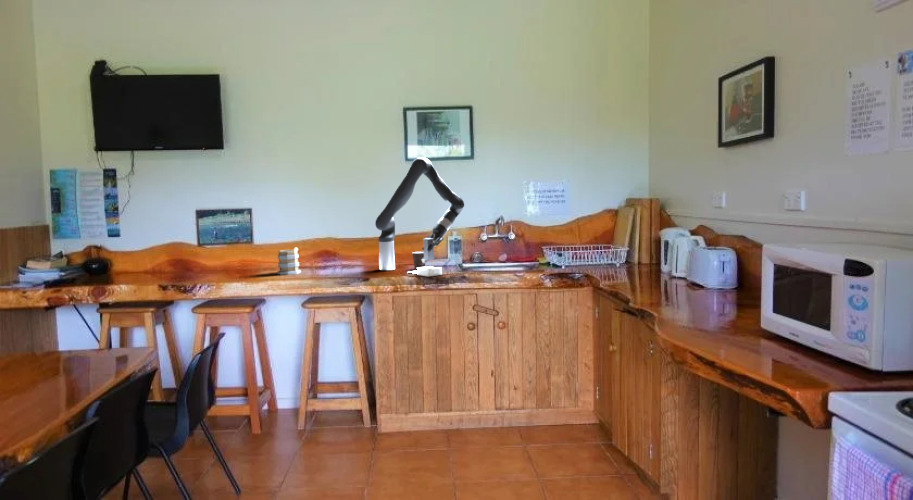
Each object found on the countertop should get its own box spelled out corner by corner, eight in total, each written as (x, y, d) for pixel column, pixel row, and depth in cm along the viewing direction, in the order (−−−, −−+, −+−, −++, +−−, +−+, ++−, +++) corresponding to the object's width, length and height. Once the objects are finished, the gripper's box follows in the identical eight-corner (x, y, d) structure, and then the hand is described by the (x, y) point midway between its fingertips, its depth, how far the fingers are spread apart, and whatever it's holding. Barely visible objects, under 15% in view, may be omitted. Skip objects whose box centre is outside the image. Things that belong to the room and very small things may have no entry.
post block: (407, 273, 334) (407, 266, 333) (421, 271, 340) (420, 265, 339) (428, 276, 318) (428, 269, 318) (442, 274, 324) (441, 267, 324)
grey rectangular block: (424, 260, 325) (423, 238, 324) (429, 259, 327) (428, 238, 326) (428, 260, 322) (427, 238, 321) (434, 259, 324) (433, 238, 323)
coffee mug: (415, 270, 348) (414, 253, 347) (410, 268, 356) (410, 252, 355) (433, 268, 352) (433, 252, 351) (428, 267, 360) (428, 251, 359)
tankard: (294, 274, 344) (292, 249, 343) (274, 274, 347) (272, 249, 345) (309, 270, 364) (307, 246, 362) (290, 270, 366) (289, 246, 365)
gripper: (430, 222, 333) (414, 245, 326) (446, 223, 322) (429, 246, 315) (438, 231, 337) (422, 254, 330) (453, 231, 326) (437, 255, 319)
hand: (425, 250), depth 323 cm, fingers closed on grey rectangular block, 4 cm apart
